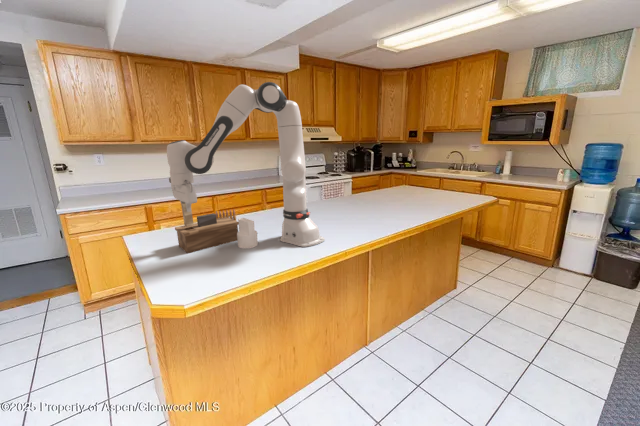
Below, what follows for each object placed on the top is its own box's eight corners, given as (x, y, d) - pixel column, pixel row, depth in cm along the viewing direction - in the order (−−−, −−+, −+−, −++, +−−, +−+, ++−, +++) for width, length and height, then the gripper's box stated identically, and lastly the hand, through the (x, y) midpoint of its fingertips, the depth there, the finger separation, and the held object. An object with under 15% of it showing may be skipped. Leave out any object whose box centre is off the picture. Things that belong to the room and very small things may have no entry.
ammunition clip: (217, 233, 153) (214, 211, 150) (216, 232, 155) (214, 210, 152) (237, 230, 158) (235, 209, 155) (237, 229, 160) (235, 208, 157)
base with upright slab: (261, 244, 136) (259, 219, 133) (244, 250, 130) (242, 224, 127) (251, 240, 143) (249, 216, 140) (234, 245, 136) (231, 220, 133)
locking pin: (193, 225, 131) (190, 203, 129) (186, 226, 129) (183, 204, 127) (191, 223, 133) (188, 202, 131) (184, 225, 131) (181, 203, 129)
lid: (238, 224, 141) (237, 212, 140) (184, 236, 125) (183, 223, 123) (226, 219, 150) (225, 208, 149) (175, 229, 134) (173, 217, 133)
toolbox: (238, 240, 143) (237, 224, 141) (187, 253, 127) (185, 235, 125) (227, 234, 152) (226, 219, 150) (179, 246, 136) (176, 229, 134)
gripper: (198, 180, 121) (203, 213, 124) (182, 176, 136) (186, 206, 139) (182, 182, 117) (187, 216, 120) (167, 178, 131) (172, 208, 135)
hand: (187, 210), depth 130 cm, fingers closed on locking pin, 3 cm apart
